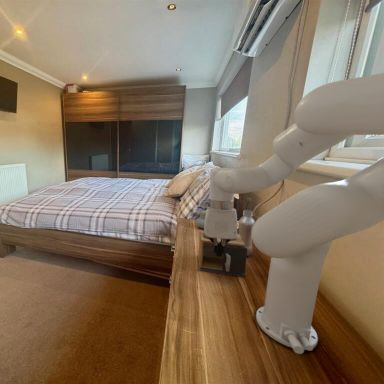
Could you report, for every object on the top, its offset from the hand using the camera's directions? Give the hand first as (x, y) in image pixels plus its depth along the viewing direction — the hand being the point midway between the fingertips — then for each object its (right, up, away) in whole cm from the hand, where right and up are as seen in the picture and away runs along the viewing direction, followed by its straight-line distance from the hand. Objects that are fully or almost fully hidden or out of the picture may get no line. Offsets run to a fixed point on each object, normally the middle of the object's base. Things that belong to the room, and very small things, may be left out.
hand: (218, 254), depth 71 cm
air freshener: (+14, +1, +51) cm, 53 cm away
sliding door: (+7, -8, +2) cm, 11 cm away
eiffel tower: (+31, -2, +38) cm, 49 cm away
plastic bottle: (+20, -6, +19) cm, 28 cm away
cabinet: (+5, -7, +11) cm, 14 cm away
